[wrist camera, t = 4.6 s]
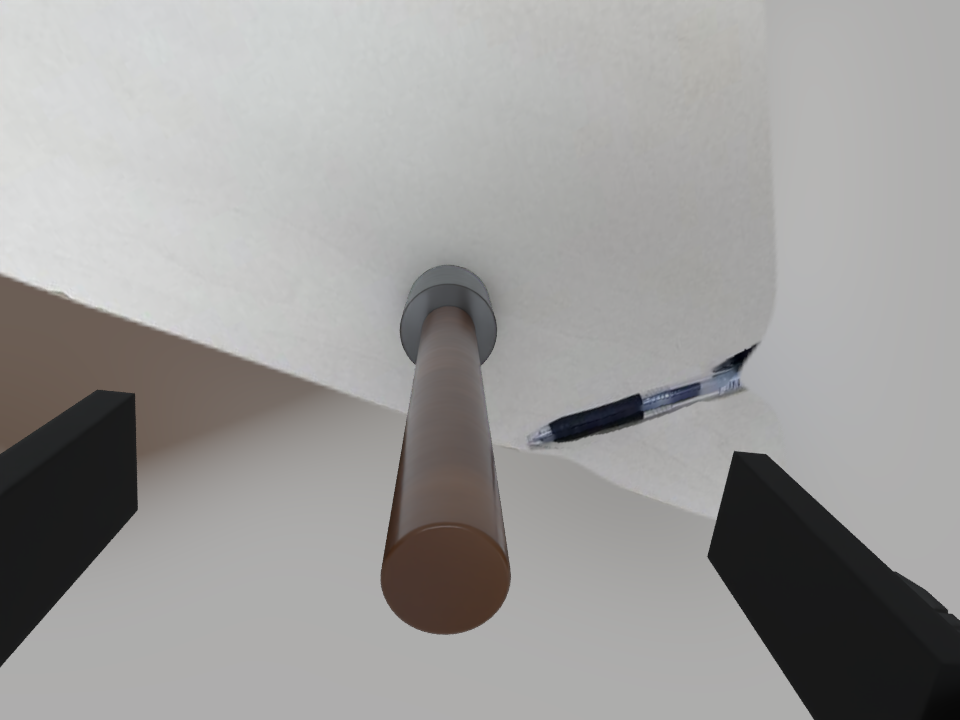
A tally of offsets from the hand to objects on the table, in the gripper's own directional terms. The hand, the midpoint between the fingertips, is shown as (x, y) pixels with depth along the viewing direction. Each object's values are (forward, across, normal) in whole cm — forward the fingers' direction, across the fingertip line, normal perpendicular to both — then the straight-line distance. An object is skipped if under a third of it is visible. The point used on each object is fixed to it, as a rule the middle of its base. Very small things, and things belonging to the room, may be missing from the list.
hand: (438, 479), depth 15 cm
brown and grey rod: (+18, 0, 0) cm, 18 cm away
